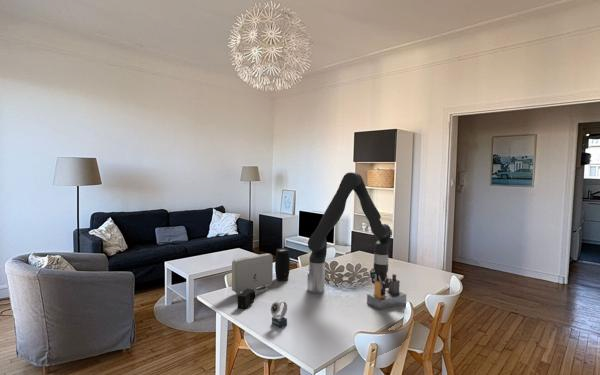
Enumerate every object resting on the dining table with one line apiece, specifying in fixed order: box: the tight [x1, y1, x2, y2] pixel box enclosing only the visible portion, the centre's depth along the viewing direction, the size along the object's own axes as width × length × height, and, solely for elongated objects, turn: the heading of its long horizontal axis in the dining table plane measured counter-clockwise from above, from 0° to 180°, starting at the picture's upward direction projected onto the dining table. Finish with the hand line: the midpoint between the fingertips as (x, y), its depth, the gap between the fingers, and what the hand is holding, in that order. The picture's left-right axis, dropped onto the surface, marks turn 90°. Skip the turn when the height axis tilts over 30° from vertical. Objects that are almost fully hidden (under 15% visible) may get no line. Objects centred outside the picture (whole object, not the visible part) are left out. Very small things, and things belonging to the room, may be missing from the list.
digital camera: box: [237, 289, 257, 310], centre depth 171 cm, size 10×5×7 cm, turn 162°
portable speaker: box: [274, 247, 291, 282], centre depth 212 cm, size 9×9×20 cm
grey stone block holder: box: [366, 289, 407, 311], centre depth 177 cm, size 19×10×5 cm, turn 119°
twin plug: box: [387, 273, 400, 295], centre depth 179 cm, size 4×4×13 cm
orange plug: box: [373, 280, 387, 299], centre depth 175 cm, size 4×4×13 cm
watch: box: [270, 299, 288, 329], centre depth 151 cm, size 6×8×11 cm
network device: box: [231, 253, 274, 295], centre depth 192 cm, size 26×9×20 cm, turn 131°
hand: (379, 293), depth 175 cm, fingers closed on orange plug, 3 cm apart
